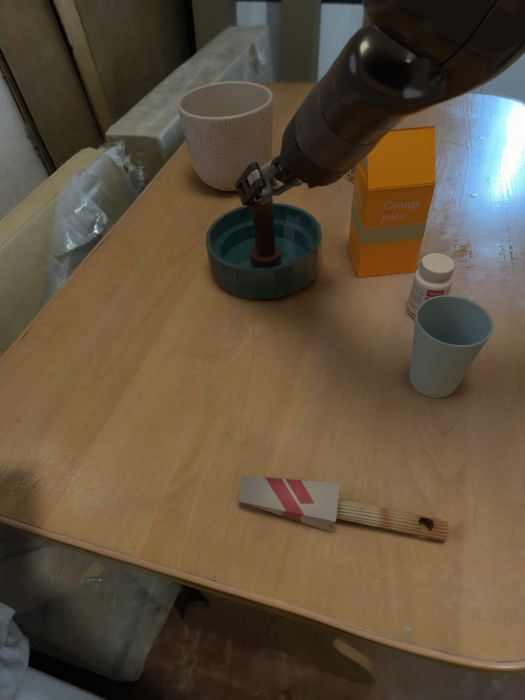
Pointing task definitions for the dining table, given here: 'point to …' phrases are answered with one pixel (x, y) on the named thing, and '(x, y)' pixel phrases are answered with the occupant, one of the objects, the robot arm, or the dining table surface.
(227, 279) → the bowl
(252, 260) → the grey brown flanged cylinder
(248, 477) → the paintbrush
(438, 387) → the cup
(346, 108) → the robot arm
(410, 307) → the pill bottle
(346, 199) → the dining table surface
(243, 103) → the planter
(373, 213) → the orange juice
